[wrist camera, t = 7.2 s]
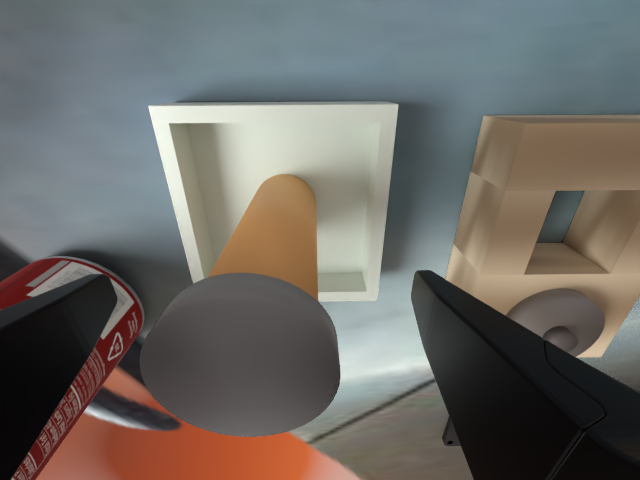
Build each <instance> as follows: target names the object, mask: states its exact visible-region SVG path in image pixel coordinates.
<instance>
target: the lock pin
mask: <svg viewBox="0 0 640 480" xmlns="http://www.w3.org/2000/svg"><path fill="white" fill-rule="evenodd" d="M140 371H141V374H142V378H143V381H144V383H145V385H146V387H147V389H148V390H149V391H150V393H151V394H152V396H153V397H154V398H155V399H156V400H157V401H158V402H159V403H160V405H162V406H163V407H164V408H165V409H166V410H167V411H169V412H170V413H172V414H173V415H175V416H176V417H178V418H180V419H181V420H183V421H185V422H187V423H189V424H191V425H194V426H196V427H199V428H202V429H205V430H208V431H211V432H216V433H219V434H225V435H232V436H245V437H247V436H248V437H255V436H266V435H273V434H278V433H283V432H287V431H290V430H293V429H296V428H298V427H300V426H302V425H305V424H306V423H308V422H310V421H312V420H313V419H315V418H316V417H317V416H319V415H320V414H321V413H322V412H323V411H324V410H325V409H326V408H327V407H328V406H329V405H330V403H331V402H332V401H333V399H334V397H335V395H336V393H337V390H338V387H339V383H340V364H339V353H338V342H337V335H336V330H335V327H334V325H333V322H332V320H331V318H330V316H329V315H328V313H327V312H326V310H325V309H324V308H323V307H322V306H321V304H320V303H319V302H318V265H317V215H316V198H315V195H314V193H313V191H312V189H311V188H310V186H309V185H308V184H307V183H306V182H305V181H303V180H302V179H300V178H298V177H296V176H293V175H288V174H281V175H275V176H273V177H270V178H268V179H267V180H265V181H264V182H263V183H262V184H261V185H260V187H259V188H258V190H257V192H256V194H255V195H254V197H253V199H252V201H251V202H250V204H249V206H248V208H247V209H246V211H245V213H244V215H243V216H242V218H241V220H240V222H239V223H238V225H237V227H236V229H235V230H234V232H233V234H232V236H231V237H230V239H229V241H228V243H227V244H226V246H225V248H224V250H223V251H222V253H221V255H220V257H219V258H218V260H217V262H216V264H215V265H214V267H213V269H212V271H211V272H210V274H209V276H208V278H205V279H202V280H200V281H198V282H196V283H193V284H191V285H190V286H188V287H187V288H185V289H184V290H182V291H181V292H180V293H179V294H177V295H176V296H175V297H174V298H173V299H172V301H171V302H170V303H169V304H168V306H167V307H166V309H165V310H164V312H163V313H162V315H161V316H160V318H159V319H158V320H157V322H156V323H155V325H154V326H153V328H152V329H151V331H150V332H149V334H148V335H147V337H146V339H145V341H144V343H143V345H142V349H141V352H140Z"/></svg>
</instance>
